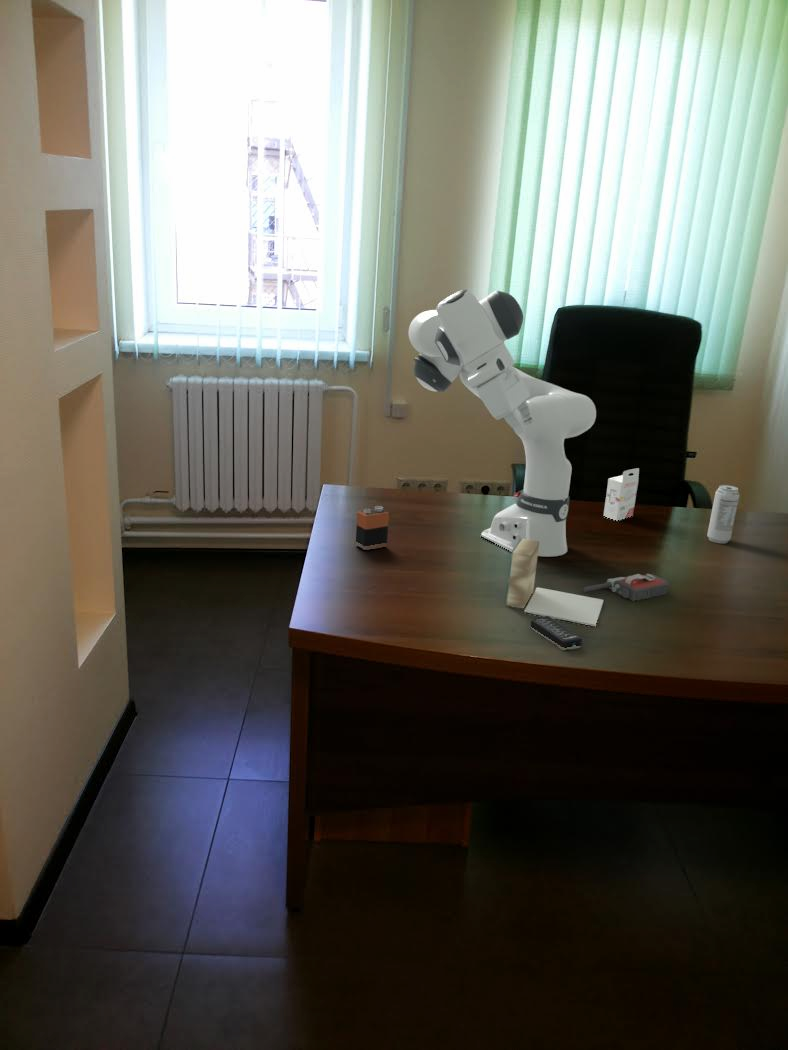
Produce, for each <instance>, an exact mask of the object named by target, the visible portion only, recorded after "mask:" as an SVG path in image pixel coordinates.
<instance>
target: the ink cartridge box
mask: <svg viewBox="0 0 788 1050" xmlns="http://www.w3.org/2000/svg"><path fill="white" fill-rule="evenodd" d="M630 474H633V475H630ZM639 474H640V468H639V467H638V468H637V467H636V468H632V469H627V470H624V471H623V472H622V474H621V475H618V476H613V477H610V478H608V479H607V488H606V495H605V496H606V497H605V501H604V509H603V516H605V517H607V518H606V519H608V518H610V519H609V520H611V519H613V520H612V521H615V520H616V522H619V521H623V520H625V518H626V519H629V518H632V517H634V511H635V510H634V509H635V504H636V499H637V498H636V497H637V491H638V486H639V479H640V478H639V476H640V475H639ZM631 516H632V517H631ZM605 517H604V518H605ZM628 517H629V518H628ZM622 519H623V520H622ZM618 520H619V521H618Z"/></svg>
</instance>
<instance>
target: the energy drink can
mask: <svg viewBox="0 0 788 1050" xmlns="http://www.w3.org/2000/svg"><path fill="white" fill-rule="evenodd" d="M739 499H740V492H739V488H738V487H736V486H734V485H729V484H721V485H719V486H718V488H717V489H716V491H715V494H714V498H713V502H712V503H713V504H712V509H711V514H710V520H709V525H708V528H707V533H706V534H707V535H706V537H708V540H709V541H710V542H712V543H716V544H728V543H729V542H730V541H731V538H732V533H733V528H734V524H735V521H736V520H735V519H736V513H737V508H738V504H739Z"/></svg>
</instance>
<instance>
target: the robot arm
mask: <svg viewBox="0 0 788 1050" xmlns="http://www.w3.org/2000/svg"><path fill="white" fill-rule="evenodd" d="M523 323H524V313H523V310H522V308H521V306H520V304H519V302H518V301H517V300H516V298H515V297H514V296H513V295H511V294H510V293H507V292H505V291H501V290H494V291H493V292H491V293H490V294H488V295H487V296H486V297H485V298H483V299H481V300H480V301H479V300H478V298H477V297H476V296H475V295H474V294H473V292H472V291H471V290H469V289H461V290H458V291H456V292H455V293H453V294H451V295H449V296H447V297H446V298H444V299H442V301H440V302H439V303H438V304H437V306H436V307H435V309H428V310H425V311H422V312H420V313H418V315H417V314H416V316H414V318H413V319H412V320H411V322H410V325H409V326H408V327H409V328H408V338H409V342H410V344H411V346H412V347H413V348H414V349H415V351H416V352H418V353H419V354H417V357H413V361H414V366H413V375H414V377H415V378H416V380H417V381H418V383H419V384H420V385H421V386H422V387H423V388H424V389H426V390H428V391H431V392H437V393H444V392H445V391H446V390H447V389H449V388H450V387H451V386H452V384H453V383H452V382H454V380H455V379H457V377H458V376H459V378H460V379H459V380H460V381H461V383H462V384H463V385H464V386H465V387H466V388H467V389H468V391H470V392H471V393H472V394H474V396H476V397H478V399H480V400H481V401H482V403H483V404H484V406H485V407H486V409H487V411H488V412H489V413H490V414H491V416H492V417H493V419H495V420H497V421H500V420H502V419H503V418H504V420H505V422H506V424H508V425H509V426H510V428H511V429H512V430H513V431H514V433H515V434H516V435H517V436H518V437H519V439H521V441H522V444H523V447H524V455H525V472H524V474H525V475H524V483H523V489H521V490H518V492H514V493H513V498H517V500H516V501H515V503H513V504H511V505H510V506H508V507H506V508H504V509H503V510H500V511H499V512H497V513H496V514H495V515H494V516H493V519H492V522H491V525H490V527H489V528H487V529H484V530H483V531H482V532H481V535H480V537H481V536H482V537H484V538H486V539H488V540H490V541H492V542H494V543H495V544H494V545H496V544H497V545H496V546H498V545H499V546H498V547H500V546H501V547H500V548H502V547H503V548H502V549H504V548H505V549H504V550H506V549H507V550H506V551H508V550H509V551H508V552H512V551H513V549H514V548H515V546H516V545H517V543H518V542H519V541H520V539H521V538H524V539H529V540H535V541H540V542H539V549H538V557H546V558H547V557H559V556H563V555H565V554H566V553H567V552H568V545H567V537H566V536H567V535H566V534H567V532H566V527H567V526H566V522H567V517H568V513H569V507H570V498H571V497H570V496H569V494H570V492H569V491H570V485H571V476H572V470H573V468H572V464H571V462H570V460H569V459H568V458H567V456H566V454H565V453H566V452H565V446H564V445H565V439H570V438H574V437H578V436H580V435H582V434H583V433H585V432H587V431H588V430H589V429H591V428H592V426H593V425H594V424H595V422H596V419H597V409H596V405H595V403H594V402H593V400H592V399H591V398H590V397H589V396H587V395H585V394H582V393H578V392H574V391H571V390H569V389H566V388H563V387H561V386H559V385H556V384H554V383H551V382H547V381H545V380H543V379H539V378H536V377H534V376H531V375H529V374H527V373H525V372H523V371H522V370H520V369H518V368H516V367H514V366H513V365H515V364H516V362H515V360H514V358H513V356H512V355H511V353H510V351H509V349H508V347H507V346H506V344H505V343H504V342H505V341H507V340H510V339H512V338H513V337H516V336H518V335H519V333H520V332H521V329H522V326H523Z"/></svg>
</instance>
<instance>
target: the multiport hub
mask: <svg viewBox="0 0 788 1050" xmlns="http://www.w3.org/2000/svg"><path fill="white" fill-rule="evenodd" d="M530 626H531V627H532V628H534V629H535V630H537V631H538V632H540V633H541V634H543V635H544V636H546V637H548V638H549V639H551V640H552V641H554V642H555V643H557V644H558V645H560V646H561V647H564V648H567V647H572V646H573V645H576V646H581V647H582V642H583V638H582V636H579V635H578V634H576V633H575V632H574V631H573V630H571V629H569V628H568V627H566V626H565V625H563V624H561V623H560V622H558V620H555V619H552V618H551V617H549V616H543V617H541V616H537V617H532V618H531V619H530V625H529V627H530Z"/></svg>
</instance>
